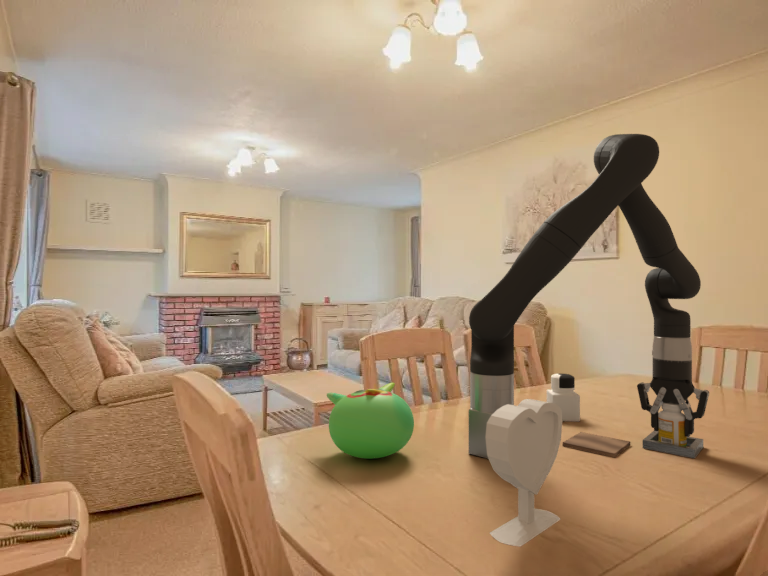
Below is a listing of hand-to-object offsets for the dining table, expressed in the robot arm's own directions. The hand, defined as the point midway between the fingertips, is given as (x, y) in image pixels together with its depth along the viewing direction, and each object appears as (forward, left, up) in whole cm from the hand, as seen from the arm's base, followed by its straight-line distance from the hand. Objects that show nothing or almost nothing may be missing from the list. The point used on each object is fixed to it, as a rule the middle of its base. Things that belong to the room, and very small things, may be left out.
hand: (671, 432), depth 106 cm
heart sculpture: (-55, +8, -3) cm, 56 cm away
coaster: (-10, +13, -3) cm, 17 cm away
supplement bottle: (0, 0, -3) cm, 3 cm away
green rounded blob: (-49, +46, -3) cm, 67 cm away
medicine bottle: (+8, +28, -3) cm, 29 cm away
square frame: (0, 0, -3) cm, 3 cm away
